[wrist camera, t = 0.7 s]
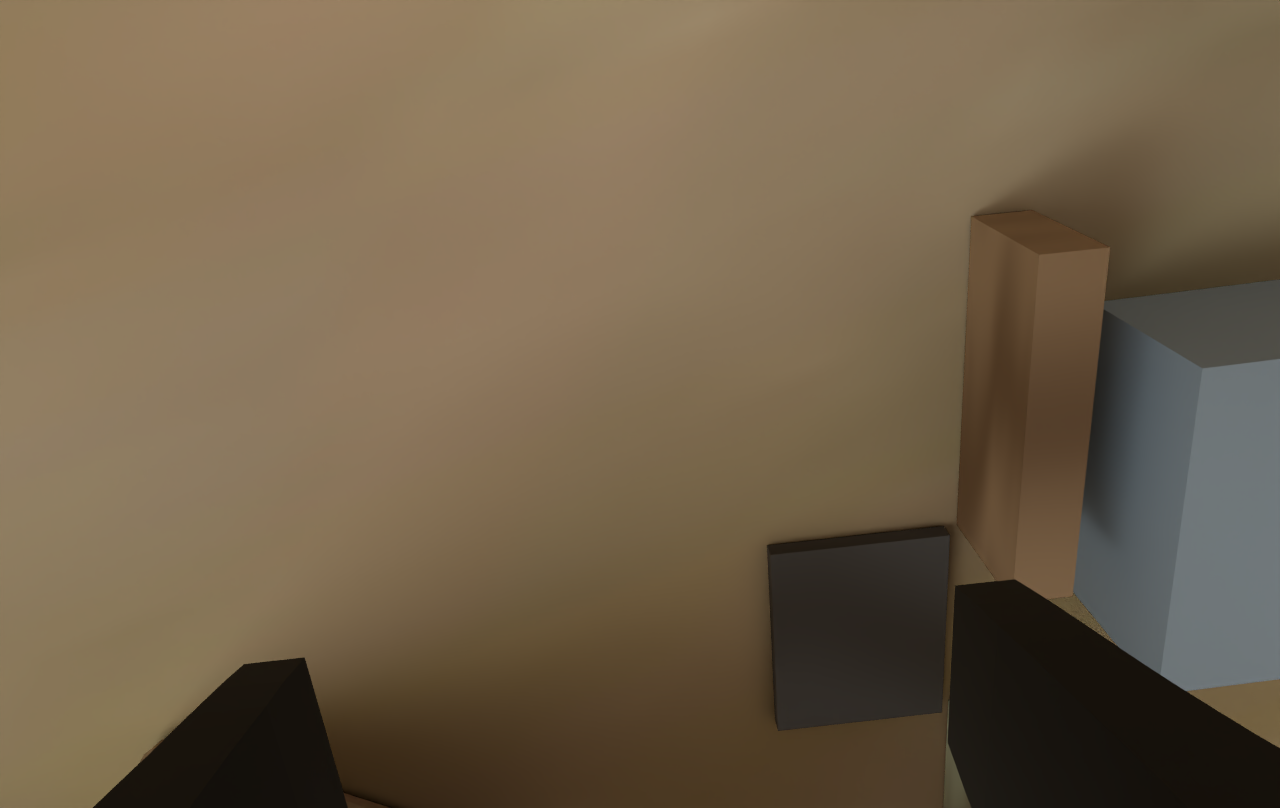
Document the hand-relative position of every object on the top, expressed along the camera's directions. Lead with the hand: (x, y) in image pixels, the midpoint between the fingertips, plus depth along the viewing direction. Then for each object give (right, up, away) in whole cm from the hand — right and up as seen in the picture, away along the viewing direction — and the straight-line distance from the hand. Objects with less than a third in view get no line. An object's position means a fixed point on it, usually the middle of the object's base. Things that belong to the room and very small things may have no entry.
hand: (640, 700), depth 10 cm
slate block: (+14, +3, +11) cm, 18 cm away
